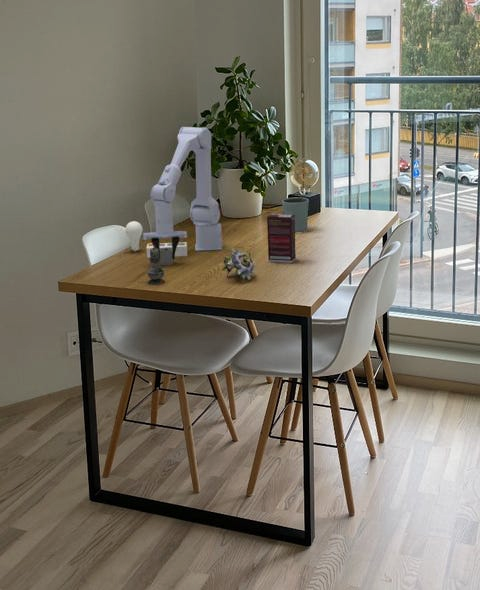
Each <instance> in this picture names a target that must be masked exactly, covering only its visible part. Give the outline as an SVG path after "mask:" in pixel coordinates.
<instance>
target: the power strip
mask: <svg viewBox="0 0 480 590" xmlns="http://www.w3.org/2000/svg"><path fill="white" fill-rule="evenodd" d="M187 243H188V242H186V241H184V242H183V241H181V242H179V243H178V245H177V248H176V251H175V257H187V256H188V245H187ZM159 245H160V248H172V242H168V243H167V242H163V243H160V242H159ZM152 248H154V247H153V244H152V242H148V243H147V244H146V258H147V259H150V250H151V249H152ZM175 257H174V258H175Z"/></svg>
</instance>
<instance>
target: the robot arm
mask: <svg viewBox="0 0 480 590" xmlns="http://www.w3.org/2000/svg"><path fill="white" fill-rule="evenodd" d="M177 143H178V144H177V145H176V149H175V151H174V153H173V158H172V160H171V162H170V164H167V165H166V166H165V167H164V168H163V169H164V170H163V171H162V174H161V176H160V178H159V180H158V182H157V183H156V184H155V185H153V186H152V188H151V190H150V193H149V194H150V195H149V196H150V198H151V200H152V205H153V207H154V211H155V212H154V213H155V229H156V231H152V232H143V233H142V235H143V236H142V237H143V241H144V240H146V241H147V240H151V243H152V244H153V246H155V248H157V249H159V258H160V245H159V243H160V240H161V239H171V243H172V260H175V251H176V248H177V245H178V243H180V239H182V238H183V239H187V238H188V233H187V231H186V230H184V231H183V230H174V217H173V201H174V200H175V197H176V190H177V187H176V186H177V185H178V184H177V183H178V182H179V180H180V177H181V175H182V170H181V167H182V166H183V165H184V164H183V163H185V160H186V159H187V157H188V156H189V153H190V152H191V151H193V153H194V154H195V181H196V183H195V185H196V186H195V187H196V188H195V191H196V198H194V199H193V200H192V201H191V202H190V203H191V205H190V206H191V207H190V211H189V217H190V220H191V221H192V222H193V225H195V242H196V243H195V244H194V247H195V251H196V252H200V251H201V252H202V251H220V250H223V243H224V242H223V238H222V236H223V235H222V223H219V220H220V218H221V211H220V207H219V202H218V201H217V200H216V199H214V197H213V196H212V165H211V163H212V161H211V160H212V158H211V157H212V156H211V153H212V152H211V150H212V132H211V131H210V130H209V129H208V128H207V127H205V126H204V127H194V126H182V127H181V128H180V129H179V131H178V135H177Z"/></svg>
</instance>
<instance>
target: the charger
mask: <svg viewBox="0 0 480 590" xmlns="http://www.w3.org/2000/svg"><path fill="white" fill-rule="evenodd" d="M160 259H161V260H160V266H173V264H174V261H173V260H172V248H160Z"/></svg>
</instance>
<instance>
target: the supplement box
mask: <svg viewBox="0 0 480 590" xmlns="http://www.w3.org/2000/svg"><path fill="white" fill-rule="evenodd" d="M266 225H267V247H268V248H267V253H268V254H267V255H268V256H267V257H268V258H267V259H268V262H269V263H286V264H287V263H288V264H293V263H295V261H296V259H297V257H296V254H297V253H296V233H295V215H294V214H284V213H269V214H268V215H267V216H266Z"/></svg>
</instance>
